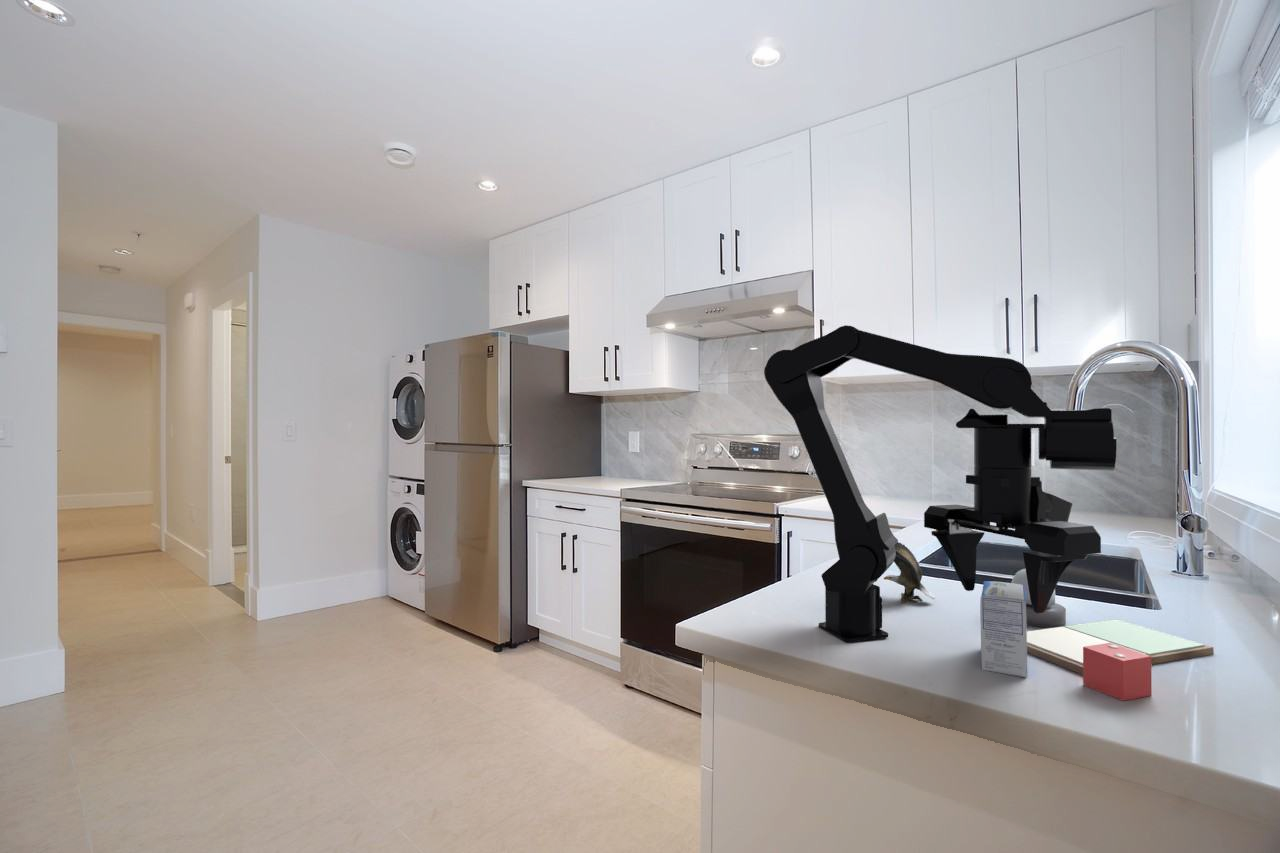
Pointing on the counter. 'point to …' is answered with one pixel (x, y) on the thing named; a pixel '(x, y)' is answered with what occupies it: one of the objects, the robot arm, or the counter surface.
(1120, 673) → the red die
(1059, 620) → the dome base
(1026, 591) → the dome
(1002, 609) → the medicine box
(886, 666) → the counter surface
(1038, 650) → the game board
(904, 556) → the eagle figurine
